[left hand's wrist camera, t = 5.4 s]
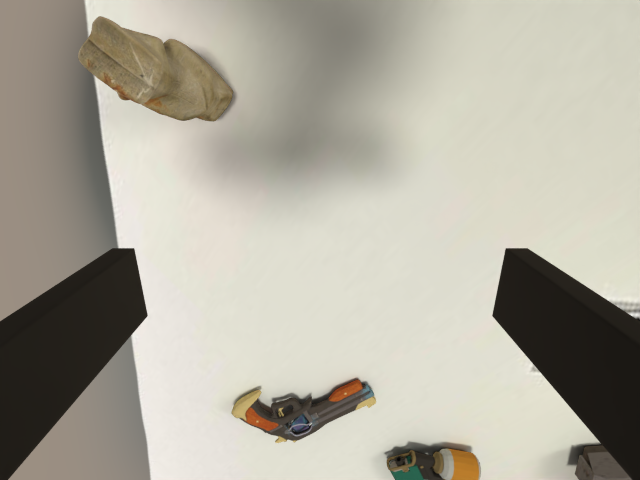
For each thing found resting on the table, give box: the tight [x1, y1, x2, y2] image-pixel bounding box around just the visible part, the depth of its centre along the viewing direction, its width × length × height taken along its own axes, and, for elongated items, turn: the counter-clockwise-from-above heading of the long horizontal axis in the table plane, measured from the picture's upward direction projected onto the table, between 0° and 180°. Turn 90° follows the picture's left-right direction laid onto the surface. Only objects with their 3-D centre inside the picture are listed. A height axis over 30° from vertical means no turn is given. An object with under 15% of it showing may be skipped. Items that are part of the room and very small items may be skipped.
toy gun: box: [232, 380, 376, 443], centre depth 49 cm, size 3×19×10 cm
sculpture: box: [78, 16, 233, 121], centre depth 29 cm, size 6×7×15 cm
